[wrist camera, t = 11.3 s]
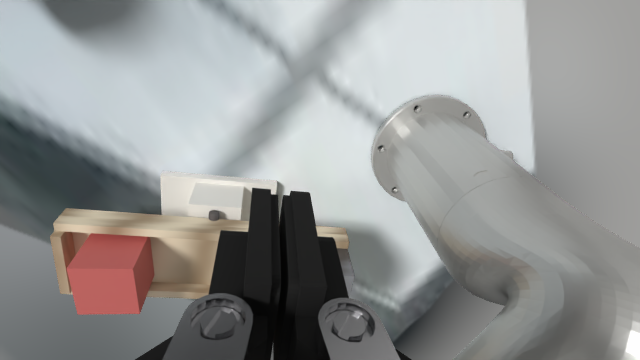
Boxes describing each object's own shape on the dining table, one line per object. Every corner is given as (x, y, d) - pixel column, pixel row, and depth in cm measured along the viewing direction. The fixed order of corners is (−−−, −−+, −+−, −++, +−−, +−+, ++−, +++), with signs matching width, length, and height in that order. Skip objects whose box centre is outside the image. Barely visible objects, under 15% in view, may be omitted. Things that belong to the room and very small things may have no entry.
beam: (345, 219, 40) (358, 262, 34) (330, 288, 44) (339, 337, 38) (68, 199, 36) (27, 244, 30) (79, 277, 40) (46, 330, 34)
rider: (149, 233, 36) (132, 268, 32) (154, 274, 39) (139, 313, 34) (91, 232, 36) (66, 268, 31) (100, 274, 38) (77, 314, 34)
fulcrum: (276, 180, 44) (277, 206, 39) (267, 259, 48) (267, 290, 44) (162, 170, 41) (149, 196, 37) (164, 254, 46) (152, 286, 42)
